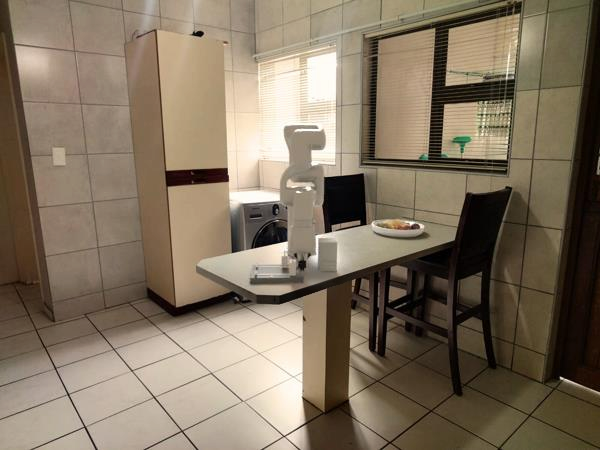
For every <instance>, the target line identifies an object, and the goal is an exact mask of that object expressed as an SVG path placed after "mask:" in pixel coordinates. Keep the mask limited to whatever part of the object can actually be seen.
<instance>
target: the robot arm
mask: <svg viewBox="0 0 600 450" xmlns="http://www.w3.org/2000/svg"><path fill="white" fill-rule="evenodd" d="M283 136H284V137H283V138H284V142H285V144H286V147H287V149H288V154H289V155H288V157H289V159H288V162H289V163H288V164H289V165H288V166H287V167H286V168H285V170H284V171H283V173H282V174H281V177H280V181H279V201H280V202H279V203H281V205H282V206H284V207H286V208H287V247H286V248H284V250H283V253H284V252H285V253H287V254H288V256H290V257H294V259H296V260H297V264H298V268H300V271H302V272H305V269H307V261H308V260H309V258H311V257H313V256H317V238H316V228H315V226H314V225H317V220H316V219H314V208H318V207H321V206H322V205H323V204H324V198H325V197H324V195H325V169H324V166H323V165H322V164H321V163H320V162H313V161H312V160H313V158H312V151H323V150H324V149H325V147H326V143H327V138H326V131H325V129H324V126H323V125H322V124H320V123H305V122H304V123H303V122H301V123H299V122H298V123H297V122H296V123H287V124H286V125H285V126H284V128H283ZM289 180H290V182H291V183H294V184H313V185H314V186H313V185H312V186H309V185H308V186H305V185H296V186H295V185H294V186H290V187H289V186H287V184H288V181H289ZM301 256H303V257H301Z"/></svg>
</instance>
